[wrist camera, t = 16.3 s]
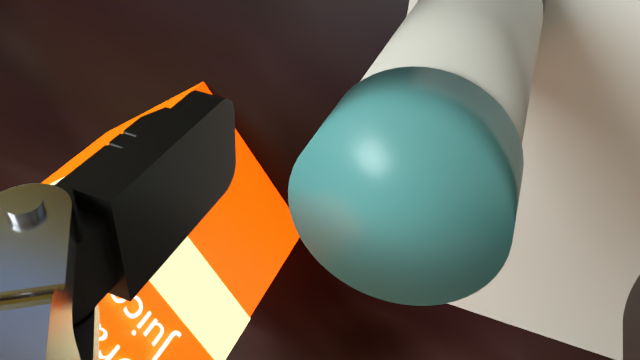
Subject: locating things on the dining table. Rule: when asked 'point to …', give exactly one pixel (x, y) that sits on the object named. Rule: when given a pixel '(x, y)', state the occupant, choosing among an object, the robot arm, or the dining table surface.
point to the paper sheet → (576, 182)
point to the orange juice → (201, 269)
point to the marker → (425, 156)
